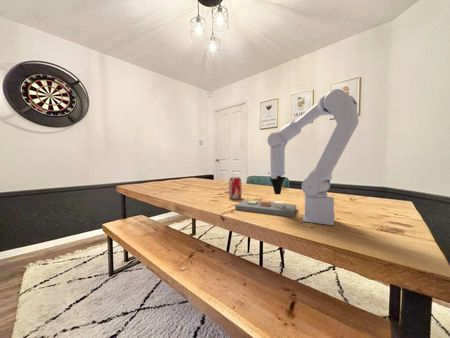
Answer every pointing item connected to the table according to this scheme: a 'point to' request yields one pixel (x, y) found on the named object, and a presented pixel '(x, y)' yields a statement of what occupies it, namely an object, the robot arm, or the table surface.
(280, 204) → the cream key
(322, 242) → the table surface
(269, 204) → the terracotta key
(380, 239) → the table surface
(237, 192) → the soda can
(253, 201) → the sage key
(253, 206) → the key board
